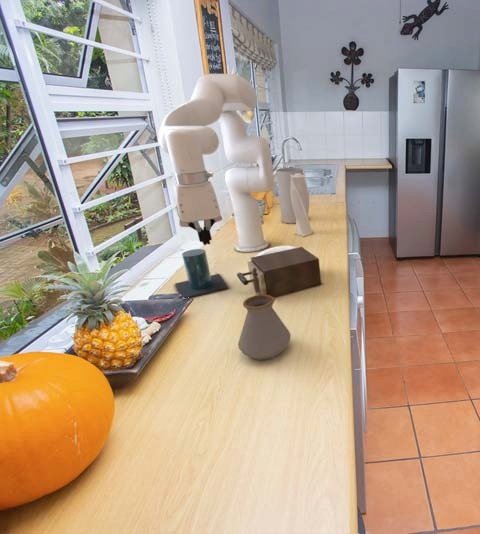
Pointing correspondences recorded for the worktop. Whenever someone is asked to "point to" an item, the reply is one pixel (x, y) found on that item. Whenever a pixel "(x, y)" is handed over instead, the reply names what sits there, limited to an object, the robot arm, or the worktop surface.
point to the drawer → (260, 277)
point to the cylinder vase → (286, 193)
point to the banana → (275, 250)
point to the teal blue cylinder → (197, 269)
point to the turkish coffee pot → (262, 327)
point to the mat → (188, 292)
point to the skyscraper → (300, 203)
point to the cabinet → (288, 271)
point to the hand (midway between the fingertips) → (206, 243)
